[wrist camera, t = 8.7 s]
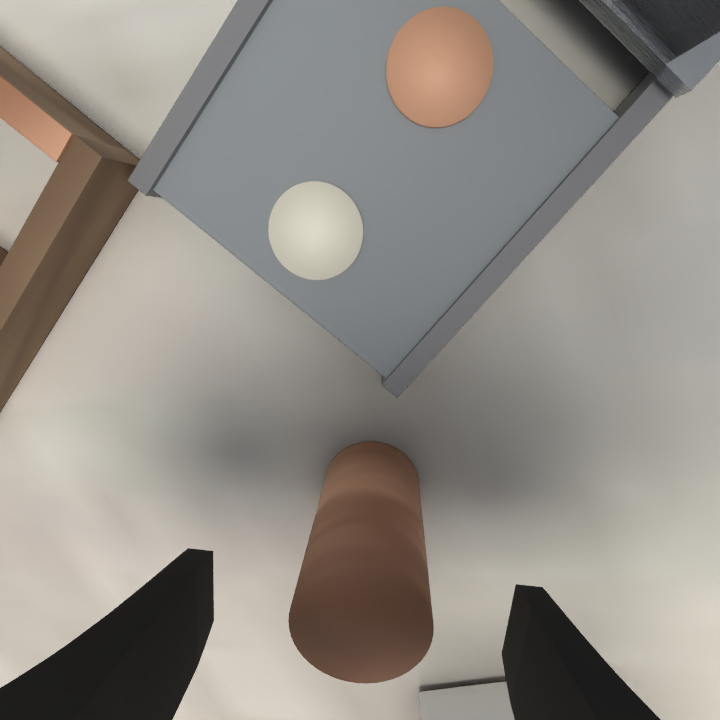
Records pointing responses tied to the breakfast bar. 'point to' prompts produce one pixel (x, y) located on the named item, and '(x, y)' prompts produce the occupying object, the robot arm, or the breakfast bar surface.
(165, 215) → the breakfast bar surface
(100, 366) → the breakfast bar surface
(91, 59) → the breakfast bar surface
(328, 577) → the peg
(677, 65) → the cover
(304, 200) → the pattern board
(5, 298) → the socket board
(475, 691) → the milk carton
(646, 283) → the breakfast bar surface
